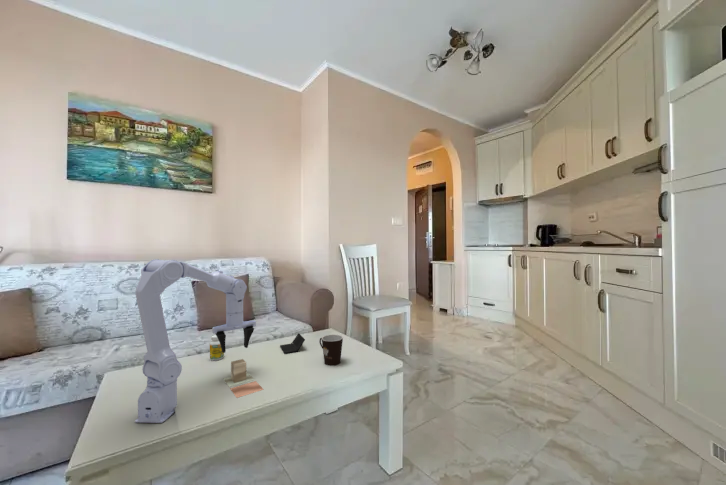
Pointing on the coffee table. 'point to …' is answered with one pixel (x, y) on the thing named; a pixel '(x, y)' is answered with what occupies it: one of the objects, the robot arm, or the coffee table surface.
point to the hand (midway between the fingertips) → (235, 349)
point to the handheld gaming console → (293, 345)
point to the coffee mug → (332, 349)
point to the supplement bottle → (215, 349)
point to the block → (238, 370)
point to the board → (243, 386)
